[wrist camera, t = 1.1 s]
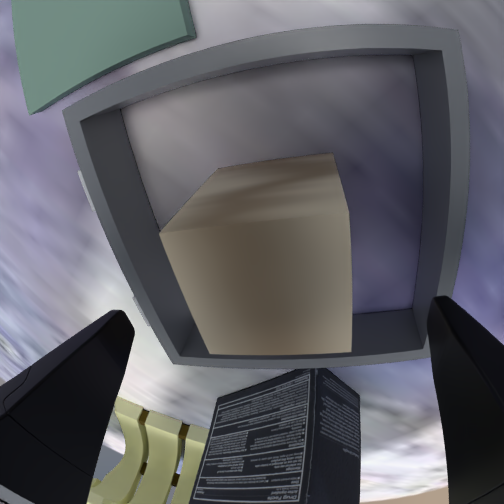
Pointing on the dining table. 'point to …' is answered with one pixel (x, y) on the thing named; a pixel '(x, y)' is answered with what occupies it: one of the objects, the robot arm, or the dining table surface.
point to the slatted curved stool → (151, 459)
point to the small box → (283, 444)
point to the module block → (267, 258)
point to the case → (254, 56)
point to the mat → (89, 40)
